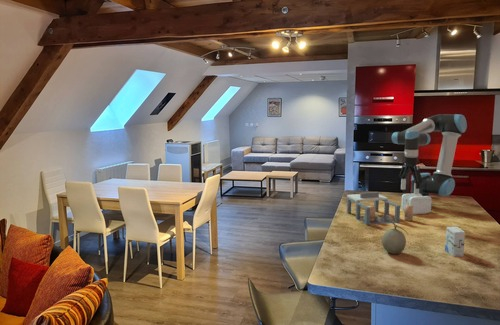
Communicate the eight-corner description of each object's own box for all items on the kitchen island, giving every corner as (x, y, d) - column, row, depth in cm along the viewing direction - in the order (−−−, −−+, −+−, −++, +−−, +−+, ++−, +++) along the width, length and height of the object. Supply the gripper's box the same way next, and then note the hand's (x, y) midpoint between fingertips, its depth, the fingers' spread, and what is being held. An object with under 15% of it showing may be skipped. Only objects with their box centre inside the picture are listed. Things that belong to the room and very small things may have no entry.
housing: (376, 211, 256) (377, 195, 254) (399, 223, 229) (400, 205, 228) (346, 213, 252) (347, 197, 250) (366, 226, 226) (366, 207, 224)
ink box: (444, 249, 187) (445, 226, 185) (454, 249, 187) (456, 226, 185) (453, 256, 178) (454, 232, 177) (464, 256, 178) (465, 231, 176)
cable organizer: (421, 209, 259) (422, 192, 258) (431, 213, 249) (432, 196, 247) (400, 211, 256) (401, 194, 255) (410, 215, 246) (411, 197, 245)
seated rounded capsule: (372, 219, 236) (373, 205, 235) (376, 221, 232) (376, 207, 230) (365, 220, 235) (366, 205, 234) (369, 222, 231) (369, 207, 230)
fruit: (405, 259, 176) (406, 227, 174) (379, 254, 182) (380, 223, 180) (409, 251, 185) (410, 221, 183) (384, 247, 191) (385, 218, 189)
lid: (376, 194, 255) (376, 188, 254) (387, 199, 241) (388, 193, 240) (347, 196, 251) (347, 190, 250) (356, 201, 237) (356, 194, 237)
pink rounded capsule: (409, 219, 238) (410, 204, 237) (414, 221, 234) (414, 206, 233) (402, 219, 238) (403, 205, 236) (407, 221, 233) (407, 207, 232)
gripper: (394, 154, 242) (392, 187, 245) (418, 159, 218) (416, 196, 220) (405, 154, 243) (403, 187, 246) (430, 158, 219) (428, 195, 222)
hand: (409, 191), depth 233 cm, fingers open, 13 cm apart
